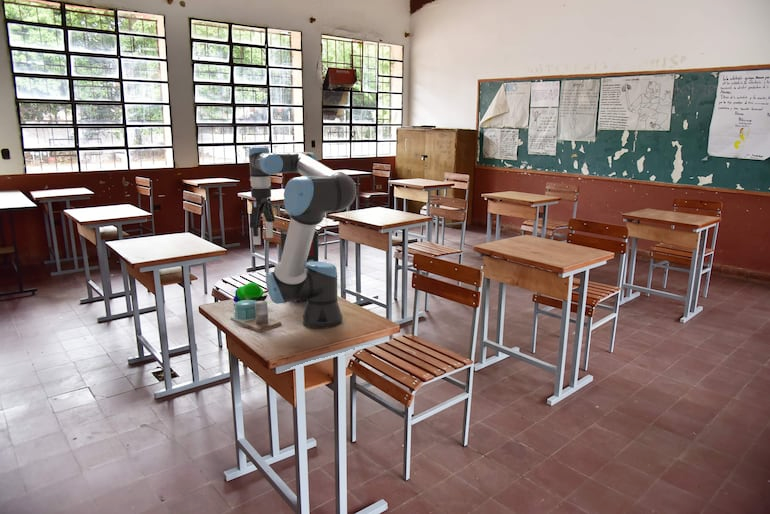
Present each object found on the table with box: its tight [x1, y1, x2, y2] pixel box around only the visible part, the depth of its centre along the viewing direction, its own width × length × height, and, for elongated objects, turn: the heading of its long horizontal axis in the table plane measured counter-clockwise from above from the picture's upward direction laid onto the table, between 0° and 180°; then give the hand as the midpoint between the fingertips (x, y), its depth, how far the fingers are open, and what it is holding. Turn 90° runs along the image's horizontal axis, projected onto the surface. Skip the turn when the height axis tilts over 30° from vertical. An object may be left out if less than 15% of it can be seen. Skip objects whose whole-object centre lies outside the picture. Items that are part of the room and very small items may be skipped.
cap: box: [232, 300, 257, 320], centre depth 210 cm, size 8×11×5 cm
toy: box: [232, 282, 269, 303], centre depth 225 cm, size 10×11×15 cm
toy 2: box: [280, 230, 319, 304], centre depth 230 cm, size 14×6×30 cm, turn 119°
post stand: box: [242, 300, 282, 333], centre depth 202 cm, size 10×10×9 cm
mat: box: [229, 314, 256, 324], centre depth 210 cm, size 9×9×1 cm
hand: (263, 241), depth 214 cm, fingers open, 13 cm apart
